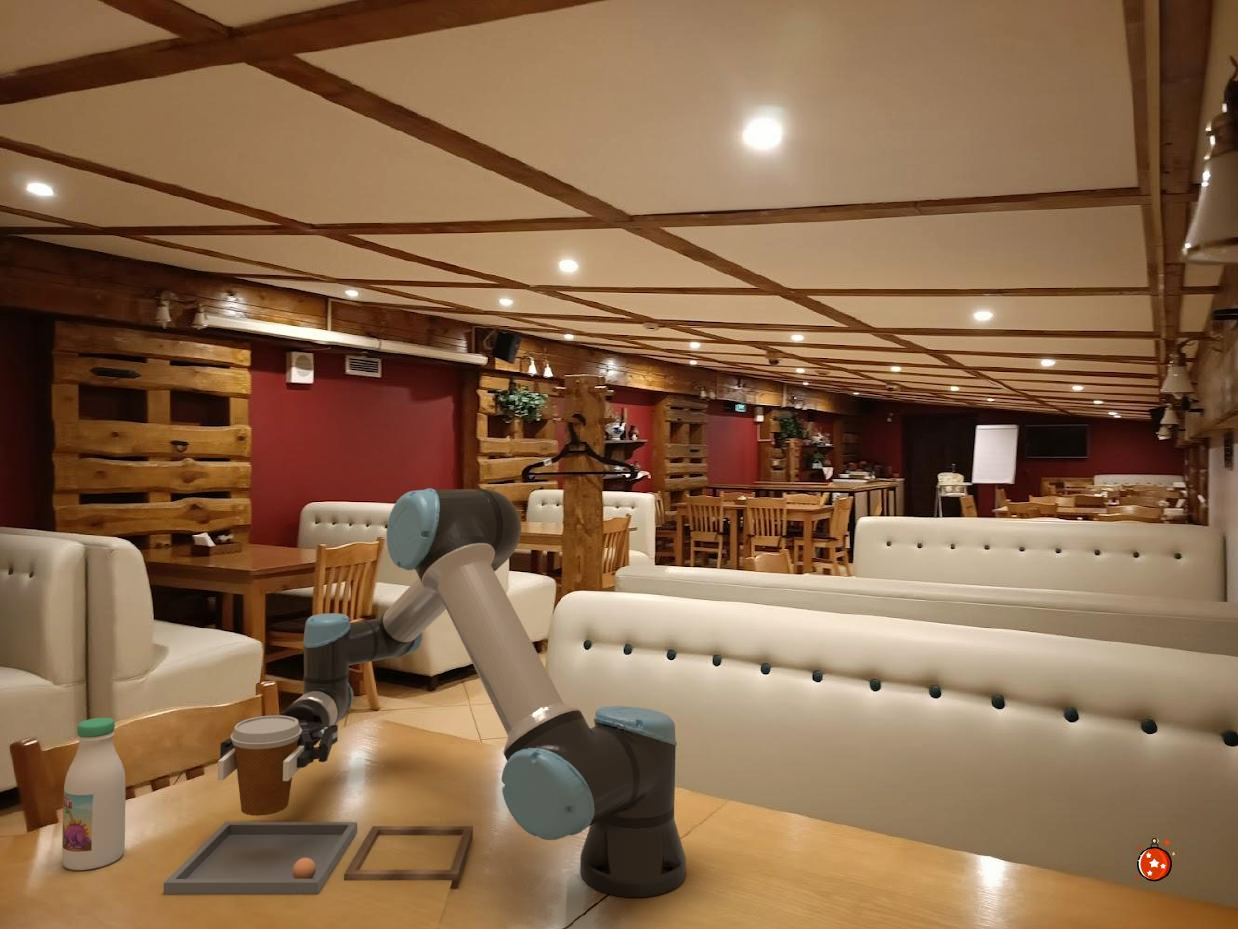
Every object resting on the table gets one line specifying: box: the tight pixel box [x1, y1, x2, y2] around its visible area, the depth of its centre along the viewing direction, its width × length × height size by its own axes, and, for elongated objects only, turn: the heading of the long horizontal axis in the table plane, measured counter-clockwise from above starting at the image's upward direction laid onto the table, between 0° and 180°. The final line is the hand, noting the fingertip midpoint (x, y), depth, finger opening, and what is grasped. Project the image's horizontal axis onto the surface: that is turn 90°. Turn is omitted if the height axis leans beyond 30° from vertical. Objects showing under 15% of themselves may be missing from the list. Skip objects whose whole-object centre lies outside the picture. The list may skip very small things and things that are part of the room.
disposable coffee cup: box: [230, 715, 302, 817], centre depth 123 cm, size 10×10×12 cm
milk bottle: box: [61, 717, 126, 871], centre depth 123 cm, size 8×8×20 cm
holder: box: [343, 825, 474, 890], centre depth 124 cm, size 15×15×2 cm
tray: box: [163, 821, 358, 896], centre depth 121 cm, size 20×19×3 cm
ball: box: [292, 858, 316, 879], centre depth 116 cm, size 3×3×3 cm
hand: (253, 770), depth 118 cm, fingers closed on disposable coffee cup, 8 cm apart
